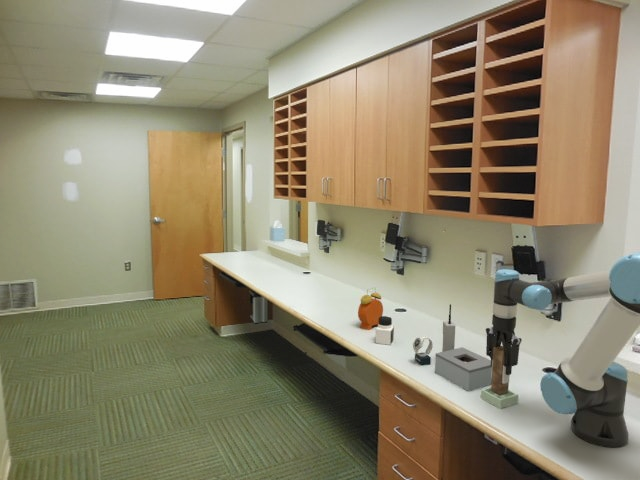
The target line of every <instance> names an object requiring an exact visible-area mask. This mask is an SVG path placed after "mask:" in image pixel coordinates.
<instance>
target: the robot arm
mask: <svg viewBox="0 0 640 480" xmlns="http://www.w3.org/2000/svg"><path fill="white" fill-rule="evenodd" d="M520 278H521V277H520V272H519V271H517V270H514V269H505V268H504V269H498V270H497V271H496V272H495V277H494V282H493V283H494V287H493V288H494V289H493V305H492V318H491V325H492V326H491V327H486V328H485V333H486V352H485V354H486V356H487V357H489V358H490V360H491V368H492V365H493V349H494V347H499V346H503V347H504V357H505V364H504V365H503V374H502V383H503V384H505V383H510V376H511V375H512V371H513V370H512V369H513V367H515V366H518V363H519V362H518V361H519V354H520V345H521V343H522V338H521V337H519V338H518V337H517V336H516V333H515V329H516V326H517V325H516V324H517V317H516V316H517V311H518V309H517V307H518V304H519V305H522V306H524V307H527V308H529V309H531V310H537V311H543V310H545V309H546V308H548V307H549V306H550V305H552V304H561V303H570V302H577V301H584V300H591V299H593V300H594V299H601V298H608V297H610V298H609V301H608V302H607V303H606V305H605V307H604V308H603V309H602V311H601V312H600V314H599V315H598V317H597V319H596V320H595V321H594V323H593V325H592V326H591V327H590V329H589V331H588V332H587V333H586V335H585V337H584V338H583V339H582V341H581V343H580V344H579V346H578V348H576V350H575V351H574V353H573V355H572V357H566V358H563V360H561V362H560V364H559V365H558V367H557V368H556V370H554V372H548V373H546V374H544V375H543V376H541V380H540V387H539V388H540V391H541V395H542V398H543V400H544V401H545V403H546V404H547V405H548V407H549V408H550V409H552V410H553V412H555V413H557V414H560V415H573V416H572V417H571V421H570V429H571V431H572V432H573V434H575V435H576V437H578V438H580V439H581V440H583V441H585V442H588V443H591V444H594V445H596V446H601V447H606V448H620V447H624V446H626V445H627V444H628V442H629V431H628V428H627V423H626V419H625V415H624V413H625V412H624V411H625V403H626V395H627V388H628V386H627V385H628V383H629V380H628V374H629V373H628V370H627V369H626V367H625V366H624V365H622V364H620V363H618V362H616V361H615V360H616V358H618V356H619V354H620V353H621V352H622V350H623V349H624V348H625V346H626V344H627V343H628V342H629V340H630V339H631V338H632V337H633V335H634V334H635V333H636V331H637V330H638V329H639V327H640V252H635V253H631V254H628V255H625V256H623V257H621V258H619V259H618V260H616V262H615V263H614V264H613V265H612V267H611V269H608V270H604V271H598V272H592V273H587V274H582V275H576V276H570V277H565V278H564V277H563V278H558V279H551V280H545V281H544V280H543V281H537V282H536V281H534V282H533V281H532V282H529V281H525V280H522V279H520ZM491 378H492V372H491Z"/></svg>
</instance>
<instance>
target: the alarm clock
mask: <svg viewBox="0 0 640 480" xmlns="http://www.w3.org/2000/svg"><path fill="white" fill-rule="evenodd" d="M371 289H376V287H372V288H370V290H371ZM368 291H369V288H368V289H367V290H366V293H368ZM381 300H382V295H380V294H379V292H372V293H371V294H369V295H368V294H364V295H363V296H361V298H360V304H359V306H358V309H357V317H358V320H359V321H360V322H361V324H360V329H364V330H365V331H370V330H372V327H373V326H374V327H375V326H376V327H378V324H379V317H381V316H383V314H384V306H383V303H382V301H381Z"/></svg>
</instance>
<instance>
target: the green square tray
mask: <svg viewBox="0 0 640 480" xmlns="http://www.w3.org/2000/svg"><path fill="white" fill-rule="evenodd" d="M480 399H482V400H483V401H486V402H487V403H489V404H491V405H493V406H494V407H496V408H498V409H503V408H506V407H510V406H513V405H516V404H518V402H519V394H518V393H516V392H514V391H512V390H510V389H508V393H507V394H504V395H501V396H499V395H497V394H495V393H494V392H492V391H491V386H488V387H485V388H481V390H480Z"/></svg>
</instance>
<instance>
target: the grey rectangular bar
mask: <svg viewBox="0 0 640 480" xmlns="http://www.w3.org/2000/svg"><path fill="white" fill-rule="evenodd" d="M448 309H449V314H448V320H445V321H444V320H443V321H442V351H441V352H444V351H448V350H453V349H455V343H456V342H455V341H456V324H454V322H453V321H451V320H452V315H451V314H452V304H451V303H450V304H449V308H448Z"/></svg>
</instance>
